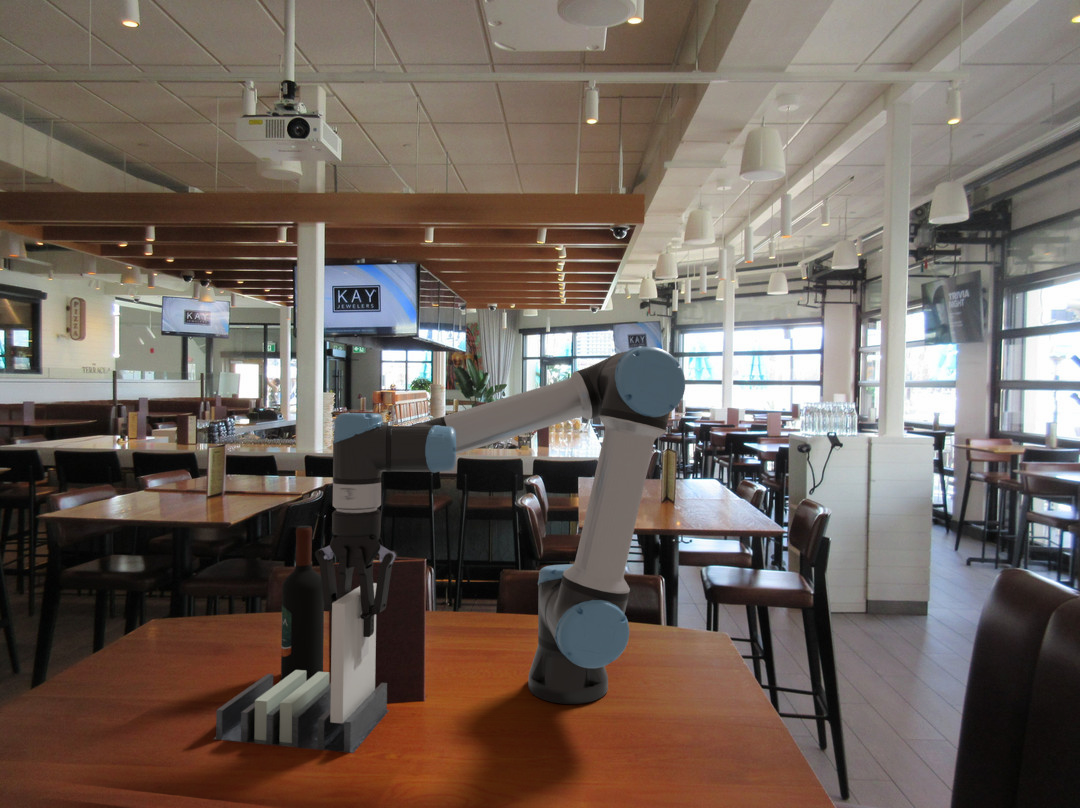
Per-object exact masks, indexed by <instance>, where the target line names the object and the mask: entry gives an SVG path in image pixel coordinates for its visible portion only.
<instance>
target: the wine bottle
mask: <svg viewBox="0 0 1080 808" xmlns="http://www.w3.org/2000/svg"><path fill="white" fill-rule="evenodd" d="M295 536H296V539H295V540H296V542H295V543H296V544H295V546H296V549H295V566H294V570H293V571H292V572H291V573H290V574H289V575H287V577H286V578H285V580H284V581H283V583H282V588H281V642H280V643H281V647H280V648H281V649H280V651H281V653H280V656H281V657H280V658H281V659H280V681H281V680H283V679H284V678H285V677H287V676H288V675H289V674H291V673H292V672H293V671H295V670H305V671H307V673H306V681H307V680H309V679H310V678H311V677H312V676H314V675H315V674H316V673H317V672H324V645H325V643H324V637H325V636H324V633H325V631H324V630H325V624H324V623H325V622H324V621H325V619H324V618H325V608H324V599H323V590H322V581H321V574H319V573H318V572H317V571H315V570H314V569H313V565H312V548H313V547H312V543H313V542H312V541H313V539H312V538H313V537H312V536H313V529H312V525H300V526H297V527H296V530H295Z"/></svg>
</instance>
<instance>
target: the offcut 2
mask: <svg viewBox="0 0 1080 808" xmlns="http://www.w3.org/2000/svg"><path fill="white" fill-rule="evenodd" d="M329 684H330V672H328V671H323V672H317V673H316V674H315V675H314V676H312V677H311V678H310V679H309V680H307V681H306V682H305V683H304V684H302V685H301V686H300V687H299V688H297V689H296V690H295V691H294V692H293V693H291V694H290V695H289V696H288V697H286V698H285V699H284V700H283V701H281V702H280V742H287V743H292V717H293V716H294V715H295V714H296V713H297V712H298V711H299V710H301V709H302V708H303V707H304V706H305V705H306V704H307V703H309V702H310V701H311V700H312V699H313V698H314V697H315V696H317V695H318V694H319V693H320V692H321V691H322V690H323V689H324V688H326V687H327V686H328V685H329Z"/></svg>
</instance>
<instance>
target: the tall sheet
mask: <svg viewBox="0 0 1080 808" xmlns="http://www.w3.org/2000/svg"><path fill="white" fill-rule="evenodd" d="M373 586H374V598H375V593H376V586H377V582H373ZM360 615H362V607H361V594H360V585H359V586H358V587H356V588H354V589H353V590H351V592H350V593H348V594H346V595H345V596H343V597H341V598H340V599H338V600H337V601H335V602H333V603H332V612H331V646H330V647H331V650H330V656H331V657H330V661H331V662H330V665H331V666H330V683H331V712H330V722H332V723H344V721H345V720H346V719H347V718H348V717H349V716H350V715H351V714H352V713H353V712H354V711H355V710H356V709H357V708H358V707H359V706H360V705H361V704H362V703H363V702H364V700H365V699H366V698H367V697H368V696H369V695H370V694H371V693H372V692H373V691H374V690H375V689H376V648H377V647H376V646H377V645H376V644H377V642H376V641H377V614H375V615H374V632H373V634H372V635H371V636H370V637H369V649H368V654H367V655H366V656H365V657H364V658H363V659H362V660H359V659H357V622H358V617H360Z"/></svg>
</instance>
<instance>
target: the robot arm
mask: <svg viewBox="0 0 1080 808" xmlns="http://www.w3.org/2000/svg"><path fill="white" fill-rule="evenodd" d="M685 390H686V379H685V374H684V370H683V368H682V366H681V365H680V363H679V362H678V360H677V359H676V358H675V356H674V355H672V354H671V353H669V351H666V350H664V349H662V348H660V347H654V346H637V347H632V348H630V349H629V350H627V351H622V352H619V353H618V352H617V353H616V354H613V355H612V356H611V355H610V356H609V357H607V358H605V359H603V360H601V361H600V362H599V361H598V362H597V363H594V364H592V365H590V366H588V367H584V368H582V369H579V370H575V371H573V372H572V374H571V375H570V378H567V379H563V380H561V381H555V382H553V383H551V384H547V385H543V386H540V387H537V388H533V389H530V390H527V391H524V392H520V393H516V394H513V395H509V396H507V397H504V398H499V399H496V400H494V401H490V402H487V403H483V404H479V405H477V406H472V407H470V408H467V409H463V410H459V411H456V412H453V413H450V414H447V415H444V416H440V417H436V418H433V419H429V420H426V421H423V422H417V423H414V424H410V425H388V424H384V422H383V417H382V414H380V413H378V412H377V413H371V412H370V413H368V412H367V413H366V412H365V413H364V412H363V413H362V412H361V413H360V412H359V413H358V412H341V413H339V414H338V415H337V416H336V417H335V419H334V428H333V429H334V431H333V440H332V460H333V461H332V475H333V476H332V507H334V508H335V510H333V512H332V514H331V517H332V518H331V519H332V520H331V521H332V522H331V524H332V525H331V532H332V537H331V540H330V542H329V545H327V546H324V547H322V548H320V549H317V550H316V551H315V552H314V556H315V558H316V560H317V562H318V564H319V571H320V572H319V573H320V575H321V581H322V590H323V599H324V611H326V612H331V613H332V603H333V602H335V601H337V600H338V599H340V598H341V597H343V596H345V595H346V594H348V593H350V592H351V591H352V582H353V575H354V574H353V573H354V570H355V568H356V570H357V571H356V573H357V575H358V579H359V580H358V581H359V586H360V594H361V607H362V615H360V617H358V622H357V659H359V660H362V659H363V658H364V657H365V656H366V655H367V654H368V649H369V637H370V636H371V635H372V634H373V632H374V615H375V614H376V615H379V614H380V613H383V611H384V610H386V608H387V602H388V596H389V591H390V590H389V589H390V582H391V576H392V569H393V564H394V562H395V561H396V559H397V558H398V552H397V551H396V550H389V549H388V548H386V547H385V546H384V543H383V541H382V538H381V530H382V529H381V527H382V526H381V525H382V522H381V521H382V520H381V519H382V518H381V517H382V511H381V510H380V509H379V508H380V506H382V474H383V472H387V473H389V472H390V473H391V472H408V473H409V472H417V473H418V472H421V473H422V472H423V473H427V472H428V473H429V472H430V473H432V474H433V473H434V474H436V473H439V472H451V471H453V470H454V469H455V467H456V460H457V455H460V454H463V453H466V452H470V451H472V450H476V449H479V448H482V447H486V446H489V445H493V444H495V443H499V442H503V441H505V440H509V439H513V438H516V437H519V436H521V435H527V434H528V433H532V432H536V431H538V430H543V429H546V428H549V427H552V426H555V425H558V424H561V423H565V422H568V421H571V420H574V419H575V420H576V419H579V418H581V417H582V418H583V419H585V420H589V421H590V420H592V419H595V418H599V420H600V421H601V423H602V425H603V426H604V430H605V431H604V434H603V439H602V443H601V447H600V451H599V455H598V460H597V465H596V469H595V473H594V478H593V482H592V485H591V490H590V495H589V500H588V503H587V508H586V512H585V518H584V520H583V521H584V522H583V525H582V528H581V529H582V530H581V534H580V539H579V543H578V546H577V547H578V548H577V552H576V556H575V560H574V563H573V564H572V563H571V564H570V563H569V564H567V563H566V564H553V565H546V566H544V567H542V568H541V569H540V570H539V571H538V572H539V573H538V581H537V585H538V603H537V604H538V605H537V607H538V612H537V613H538V614H537V615H538V617H537V619H538V621H537V622H538V628H537V629H538V630H537V637H538V638H537V648H536V650H535V654H534V657H533V660H532V662H531V666H530V669H529V672H528V690H529V691H530V692H531V694H532V695H533V696H535V697H537V698H539V699H541V700H543V701H546V702H549V703H554V704H555V703H556V704H562V705H563V704H564V705H579V704H586V703H591V702H595V701H597V700H599V699H601V698H603V697H604V696H605V695H606V694H607V693H608V689H609V677H608V676H609V675H608V672H607V670H606V666H608V665H609V664H611V663H613V662H614V661H616V660H617V659H619V657H620V656H621V655H622V654H623V652H624V651H625V649H626V647H627V646H628V642H629V639H630V638H629V637H630V626H629V621H628V618H627V616H626V615H625V613H626V609H627V605H628V600H629V595H630V590H631V588H630V587H629V584H628V583H627V581H626V580H625V571H626V567H627V563H628V558H629V554H630V550H631V545H632V540H633V537H634V533H635V529H636V525H637V524H636V522H637V519H638V514H639V509H640V505H641V503H642V502H641V501H642V497H643V492H644V488H645V483H646V479H647V474H648V471H649V465H650V461H651V458H652V457H651V456H652V452H653V448H654V444H655V441H656V440H657V439H658V438H659V437H661V436H662V435H664V434H665V433H666V431H667V427H668V422H669V418H670V413H671V412H673V411H674V410H675V409H676V408H677V407H678V406H679V404H680V403H681V402H682V399H683V398H684V394H685ZM378 555H379V557H378ZM334 556H335V557H336V559H337V561H338V569H337V572H338V581H337V578H336V570H335V568H336V567H335V560H334ZM377 557H378V558H379V562H380V564H379V568H378V574H377V580H376V583H377V586H376V593H375V598H374V586H373V583H374V576H373V575H374V573H373V570H374V560H375V559H376V558H377ZM333 564H334V565H333ZM331 565H332V566H331Z"/></svg>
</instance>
